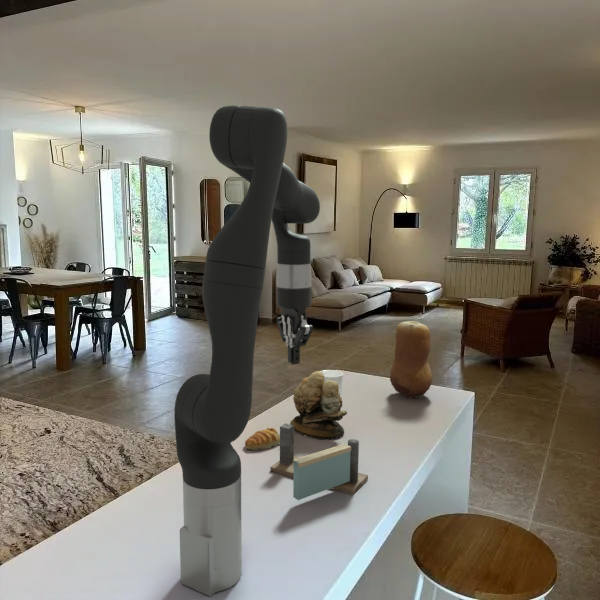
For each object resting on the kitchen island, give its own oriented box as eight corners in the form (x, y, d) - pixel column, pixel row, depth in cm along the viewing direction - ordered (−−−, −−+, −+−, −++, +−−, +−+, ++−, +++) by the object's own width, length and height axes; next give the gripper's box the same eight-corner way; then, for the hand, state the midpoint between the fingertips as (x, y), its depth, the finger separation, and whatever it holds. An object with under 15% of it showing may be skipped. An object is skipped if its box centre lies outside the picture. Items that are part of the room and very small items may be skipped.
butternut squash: (436, 394, 184) (440, 321, 180) (423, 405, 173) (426, 327, 169) (397, 387, 191) (400, 316, 188) (382, 397, 180) (384, 322, 176)
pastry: (255, 455, 136) (255, 440, 135) (238, 447, 141) (238, 433, 140) (283, 444, 142) (283, 430, 142) (265, 437, 147) (265, 423, 147)
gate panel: (350, 481, 119) (351, 446, 118) (298, 500, 111) (298, 463, 109) (344, 478, 120) (345, 443, 119) (292, 496, 112) (293, 459, 111)
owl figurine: (356, 432, 151) (358, 372, 148) (331, 445, 142) (332, 382, 139) (306, 416, 162) (307, 360, 160) (279, 428, 153) (280, 369, 151)
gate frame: (352, 494, 116) (354, 449, 115) (270, 471, 127) (270, 429, 125) (367, 479, 123) (369, 437, 122) (288, 458, 134) (288, 419, 132)
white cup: (314, 406, 171) (315, 375, 169) (321, 398, 178) (321, 368, 177) (339, 409, 169) (340, 377, 167) (344, 401, 176) (345, 371, 175)
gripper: (325, 287, 113) (324, 368, 116) (294, 280, 124) (294, 354, 127) (293, 289, 109) (293, 373, 112) (264, 282, 121) (265, 358, 123)
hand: (293, 363), depth 119 cm, fingers closed
